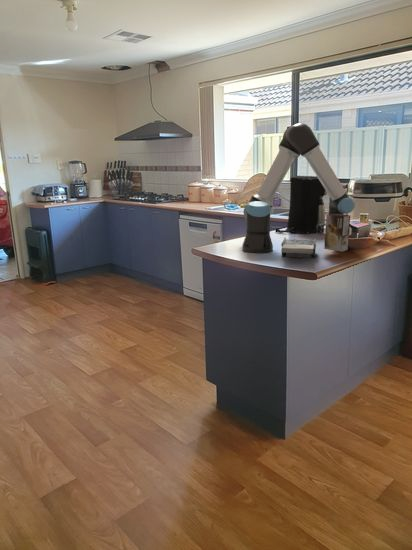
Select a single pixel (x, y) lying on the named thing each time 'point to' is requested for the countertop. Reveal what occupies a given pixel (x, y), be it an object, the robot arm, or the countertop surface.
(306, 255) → the bed
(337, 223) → the coffee box
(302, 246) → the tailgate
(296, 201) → the coffee maker
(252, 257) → the countertop surface
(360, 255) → the countertop surface
